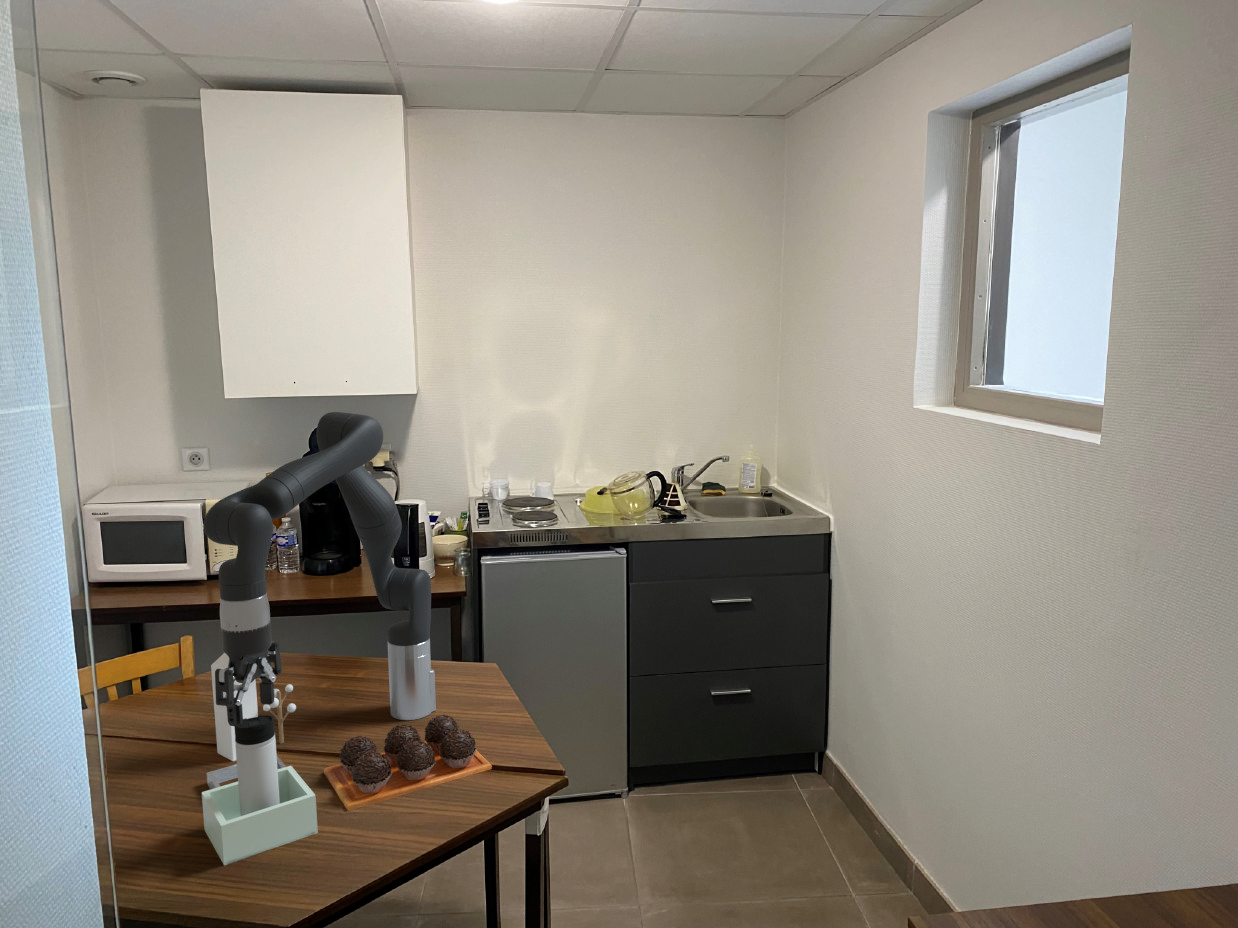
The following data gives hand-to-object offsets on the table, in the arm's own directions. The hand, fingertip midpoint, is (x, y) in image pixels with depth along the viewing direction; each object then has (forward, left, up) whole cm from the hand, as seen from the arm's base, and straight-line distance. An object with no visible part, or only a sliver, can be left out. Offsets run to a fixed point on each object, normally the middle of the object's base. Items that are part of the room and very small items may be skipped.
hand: (252, 714), depth 145 cm
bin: (0, 0, -22) cm, 22 cm away
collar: (-3, -17, -22) cm, 28 cm away
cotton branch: (-13, -32, -22) cm, 41 cm away
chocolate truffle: (-29, -4, -22) cm, 37 cm away
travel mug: (0, 0, -21) cm, 21 cm away
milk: (-5, -33, -22) cm, 40 cm away
